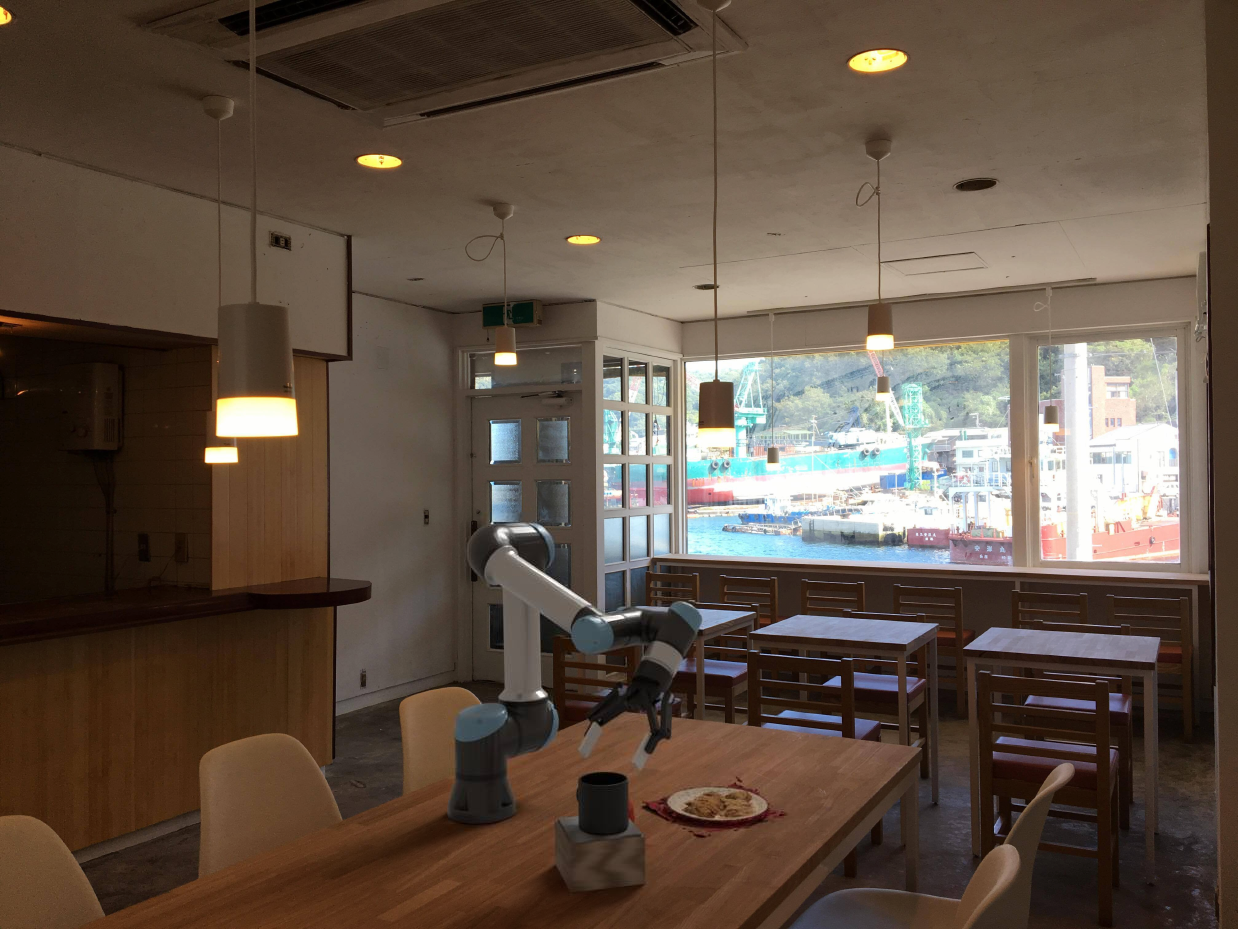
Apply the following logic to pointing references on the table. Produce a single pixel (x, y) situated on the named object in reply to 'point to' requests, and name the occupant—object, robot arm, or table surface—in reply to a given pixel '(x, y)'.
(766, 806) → the plate with food
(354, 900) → the table surface
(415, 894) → the table surface
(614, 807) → the mug
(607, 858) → the grey square box
